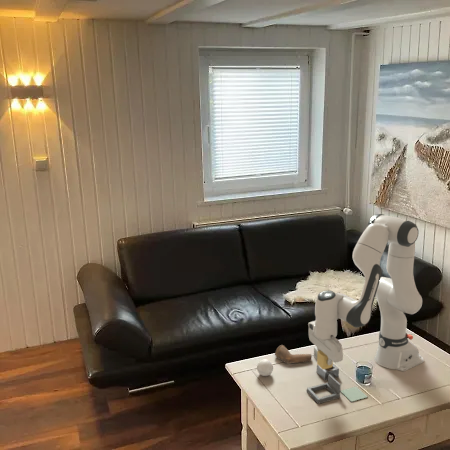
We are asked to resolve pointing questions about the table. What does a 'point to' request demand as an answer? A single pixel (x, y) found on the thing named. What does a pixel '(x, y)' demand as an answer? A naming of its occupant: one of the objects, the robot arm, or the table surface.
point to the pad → (353, 394)
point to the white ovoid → (264, 367)
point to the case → (331, 386)
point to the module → (323, 360)
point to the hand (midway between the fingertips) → (325, 360)
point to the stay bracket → (328, 372)
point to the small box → (315, 352)
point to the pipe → (291, 356)
